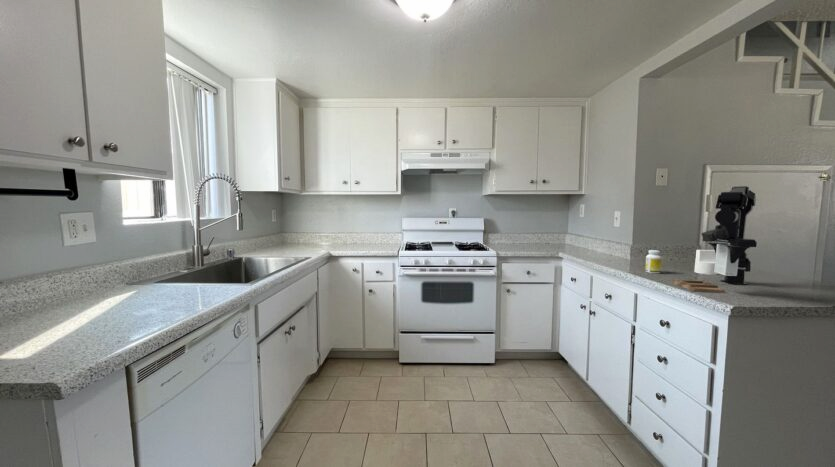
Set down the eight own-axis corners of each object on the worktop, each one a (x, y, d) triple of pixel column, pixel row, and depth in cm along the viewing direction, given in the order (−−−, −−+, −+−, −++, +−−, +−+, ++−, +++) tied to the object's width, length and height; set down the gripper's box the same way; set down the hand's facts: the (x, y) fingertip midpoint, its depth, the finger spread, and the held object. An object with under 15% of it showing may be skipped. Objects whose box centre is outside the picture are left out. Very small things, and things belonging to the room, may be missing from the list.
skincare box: (737, 276, 123) (740, 246, 122) (725, 275, 124) (728, 246, 122) (725, 272, 129) (728, 244, 127) (713, 272, 130) (716, 243, 128)
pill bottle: (663, 273, 161) (665, 251, 159) (651, 273, 161) (652, 251, 160) (654, 271, 167) (655, 249, 166) (642, 271, 167) (643, 249, 166)
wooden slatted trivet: (672, 283, 142) (672, 278, 142) (699, 284, 140) (700, 279, 140) (693, 291, 128) (694, 286, 128) (724, 292, 126) (725, 287, 126)
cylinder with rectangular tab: (701, 274, 160) (703, 251, 159) (690, 270, 168) (692, 248, 167) (722, 275, 158) (724, 251, 156) (710, 271, 166) (712, 249, 165)
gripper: (690, 221, 135) (687, 257, 136) (725, 224, 116) (722, 265, 118) (719, 221, 133) (716, 257, 134) (760, 224, 114) (755, 266, 116)
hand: (725, 261), depth 126 cm, fingers closed on skincare box, 6 cm apart
